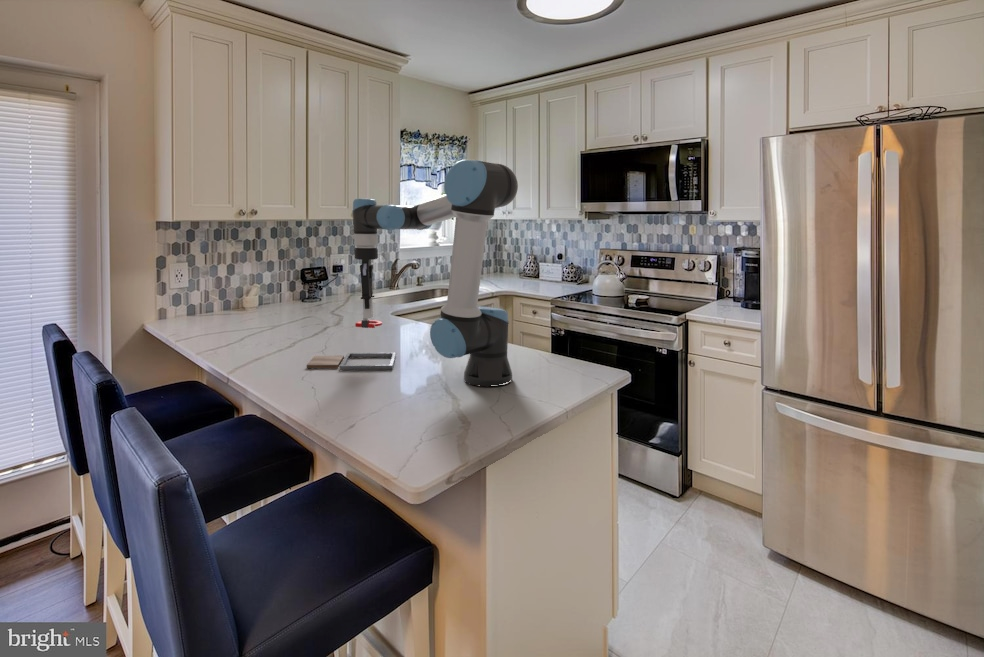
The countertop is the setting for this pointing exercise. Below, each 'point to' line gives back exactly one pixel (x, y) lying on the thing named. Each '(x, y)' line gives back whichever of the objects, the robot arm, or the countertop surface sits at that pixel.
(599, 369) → the countertop surface
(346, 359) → the grey square tray
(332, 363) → the walnut board
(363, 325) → the tow hook
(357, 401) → the countertop surface
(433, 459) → the countertop surface
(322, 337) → the countertop surface
